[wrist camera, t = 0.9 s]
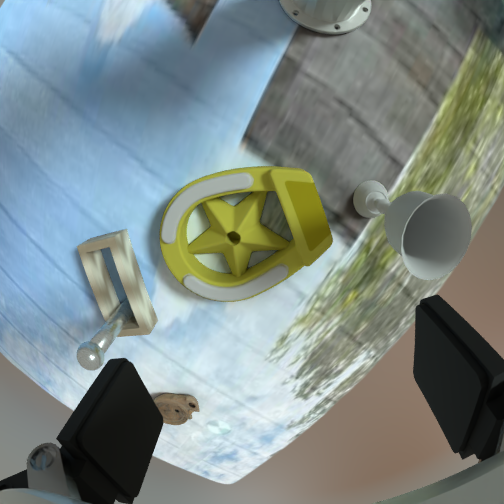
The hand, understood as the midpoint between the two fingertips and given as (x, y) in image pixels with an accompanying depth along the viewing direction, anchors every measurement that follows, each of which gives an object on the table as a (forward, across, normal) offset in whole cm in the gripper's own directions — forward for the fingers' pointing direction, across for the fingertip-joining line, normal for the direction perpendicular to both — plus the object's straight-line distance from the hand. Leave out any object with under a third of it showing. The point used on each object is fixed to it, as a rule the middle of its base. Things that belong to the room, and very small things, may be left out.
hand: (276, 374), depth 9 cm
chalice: (+32, -13, +2) cm, 34 cm away
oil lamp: (+33, +26, +31) cm, 52 cm away
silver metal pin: (+32, +24, +9) cm, 41 cm away
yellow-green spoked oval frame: (+32, +4, +2) cm, 33 cm away
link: (+32, +24, +5) cm, 40 cm away
